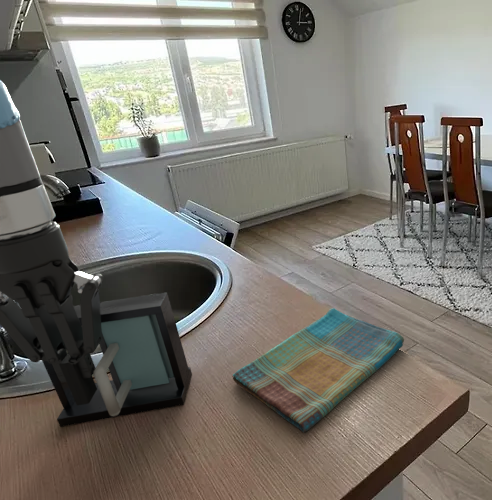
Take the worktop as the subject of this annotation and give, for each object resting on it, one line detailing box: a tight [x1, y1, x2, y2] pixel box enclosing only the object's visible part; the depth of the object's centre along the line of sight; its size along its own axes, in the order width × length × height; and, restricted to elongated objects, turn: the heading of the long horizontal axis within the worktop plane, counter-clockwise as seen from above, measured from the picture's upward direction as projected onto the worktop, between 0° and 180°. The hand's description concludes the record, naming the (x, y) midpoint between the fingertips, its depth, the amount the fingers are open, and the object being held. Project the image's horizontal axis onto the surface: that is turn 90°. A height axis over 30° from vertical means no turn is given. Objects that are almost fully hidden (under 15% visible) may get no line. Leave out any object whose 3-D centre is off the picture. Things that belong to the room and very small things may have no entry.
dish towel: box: [232, 307, 405, 433], centre depth 67 cm, size 17×23×2 cm
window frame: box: [41, 292, 193, 428], centre depth 60 cm, size 17×7×16 cm, turn 100°
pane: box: [92, 315, 170, 416], centre depth 57 cm, size 7×8×12 cm
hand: (87, 397), depth 54 cm, fingers closed
